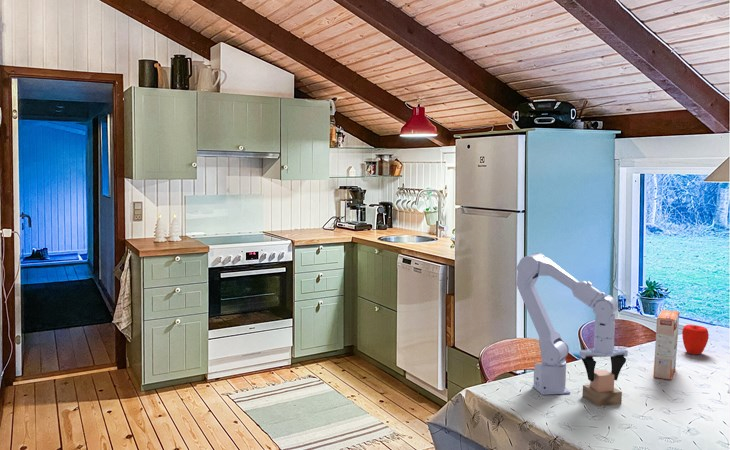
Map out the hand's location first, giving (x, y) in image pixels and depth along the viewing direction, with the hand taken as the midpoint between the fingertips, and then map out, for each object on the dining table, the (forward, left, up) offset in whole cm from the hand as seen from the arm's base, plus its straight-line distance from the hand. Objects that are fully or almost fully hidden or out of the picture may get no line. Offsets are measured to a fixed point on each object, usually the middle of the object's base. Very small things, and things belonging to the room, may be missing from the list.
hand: (602, 379), depth 191 cm
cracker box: (+34, +20, -7) cm, 40 cm away
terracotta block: (0, 0, -3) cm, 3 cm away
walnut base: (0, 0, -7) cm, 7 cm away
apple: (+59, +40, -7) cm, 72 cm away
